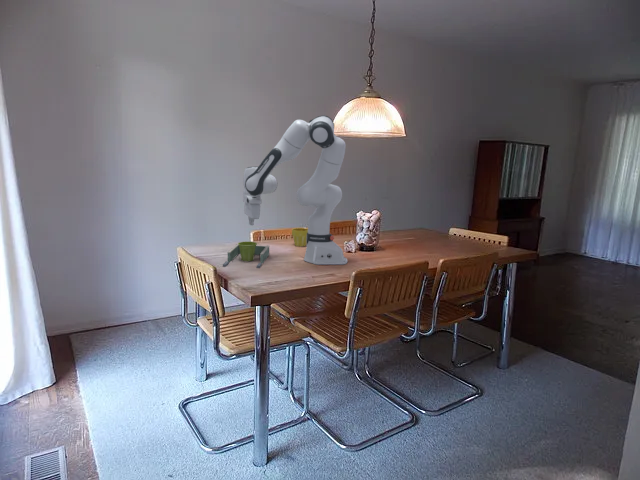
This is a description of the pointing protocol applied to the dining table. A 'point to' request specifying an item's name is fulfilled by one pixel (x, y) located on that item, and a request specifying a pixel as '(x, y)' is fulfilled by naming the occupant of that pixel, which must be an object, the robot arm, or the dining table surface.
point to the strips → (228, 263)
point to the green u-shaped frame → (259, 250)
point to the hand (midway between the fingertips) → (251, 224)
